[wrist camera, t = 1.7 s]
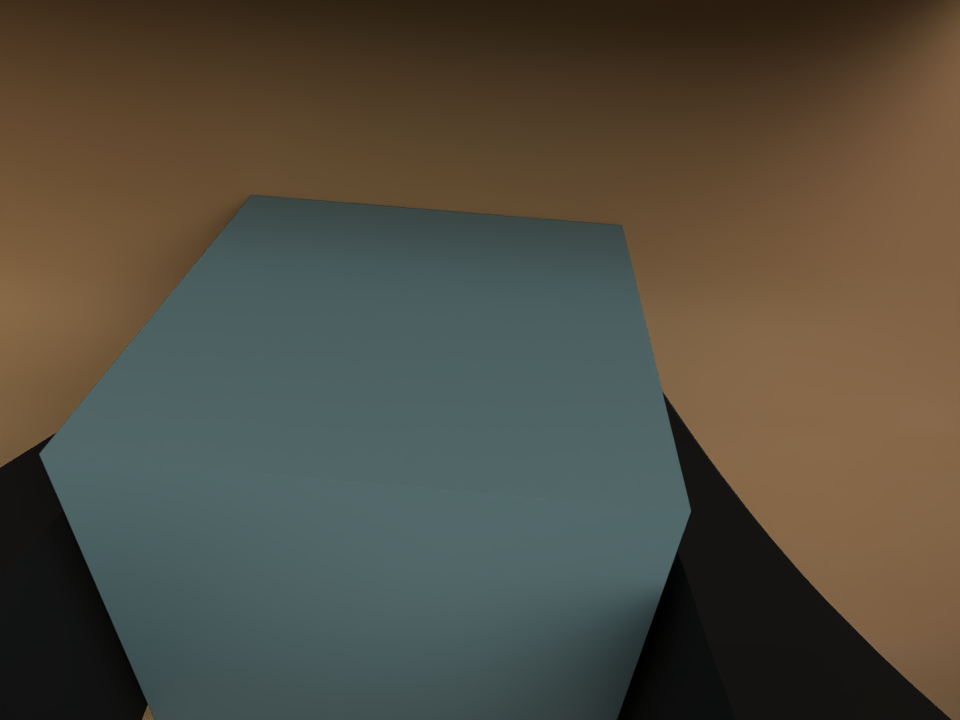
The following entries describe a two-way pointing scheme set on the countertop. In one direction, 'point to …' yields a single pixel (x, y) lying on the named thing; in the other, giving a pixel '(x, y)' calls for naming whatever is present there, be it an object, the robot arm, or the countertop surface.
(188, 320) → the teal cube
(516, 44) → the countertop surface
